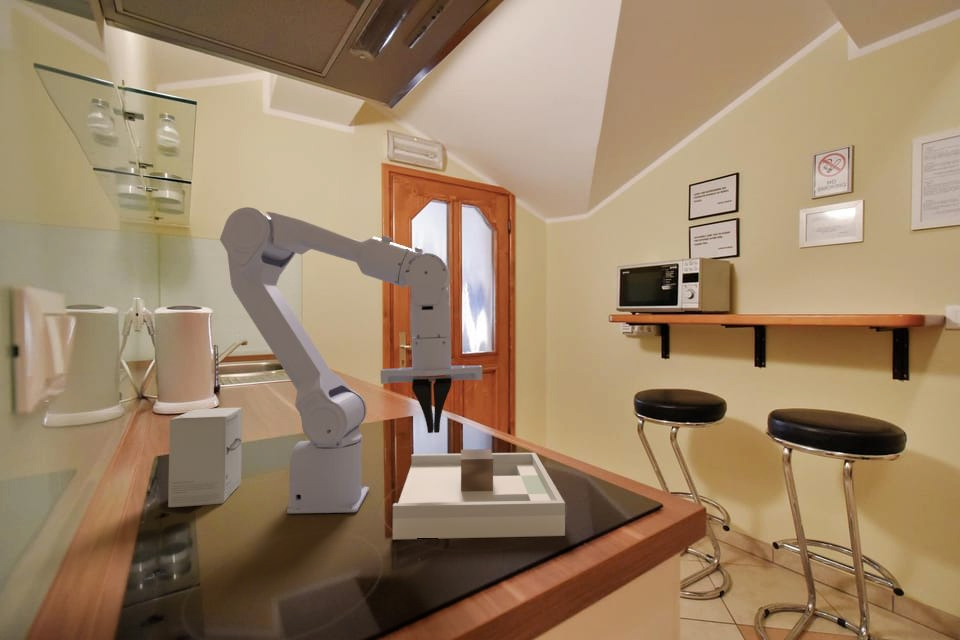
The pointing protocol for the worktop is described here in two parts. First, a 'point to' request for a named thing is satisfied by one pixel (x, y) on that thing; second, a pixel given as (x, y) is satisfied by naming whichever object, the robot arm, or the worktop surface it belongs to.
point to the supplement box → (204, 456)
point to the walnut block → (476, 470)
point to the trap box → (478, 500)
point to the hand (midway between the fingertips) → (433, 431)
